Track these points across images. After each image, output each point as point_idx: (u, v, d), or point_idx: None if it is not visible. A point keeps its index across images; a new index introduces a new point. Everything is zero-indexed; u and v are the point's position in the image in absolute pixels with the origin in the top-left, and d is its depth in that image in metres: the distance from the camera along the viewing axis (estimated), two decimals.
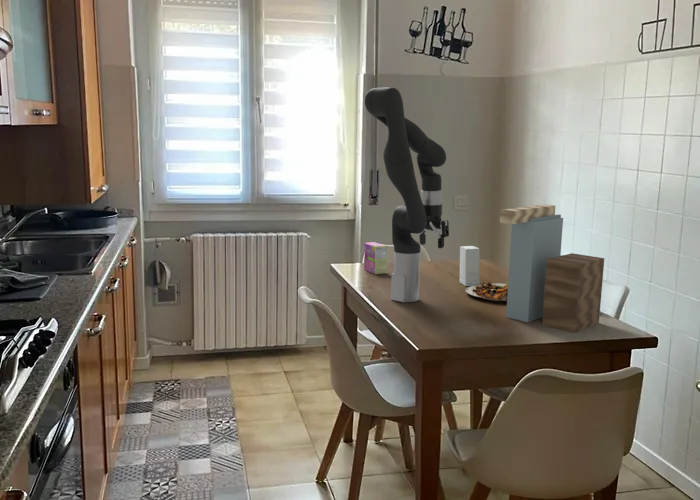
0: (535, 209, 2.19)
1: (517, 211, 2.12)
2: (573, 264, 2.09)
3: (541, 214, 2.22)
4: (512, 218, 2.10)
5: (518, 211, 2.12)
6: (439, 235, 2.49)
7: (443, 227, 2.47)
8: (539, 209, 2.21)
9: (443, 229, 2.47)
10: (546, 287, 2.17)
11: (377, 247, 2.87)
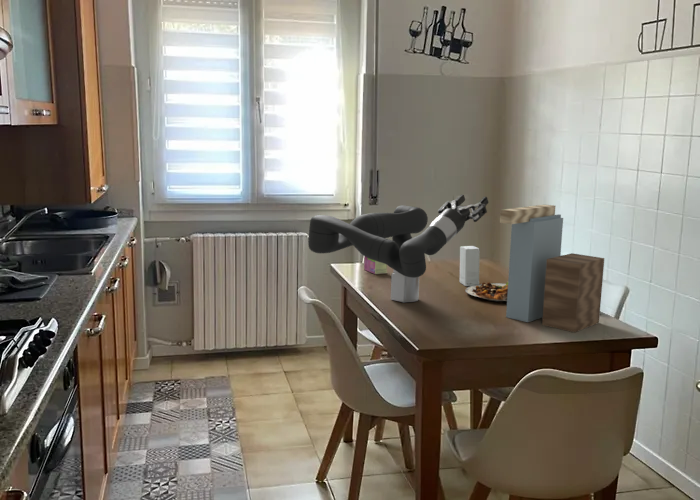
0: (535, 209, 2.19)
1: (517, 211, 2.12)
2: (573, 264, 2.09)
3: (541, 214, 2.22)
4: (512, 218, 2.10)
5: (518, 211, 2.12)
6: (452, 202, 2.13)
7: (441, 207, 2.12)
8: (539, 209, 2.21)
9: (443, 205, 2.13)
10: (546, 287, 2.17)
11: None
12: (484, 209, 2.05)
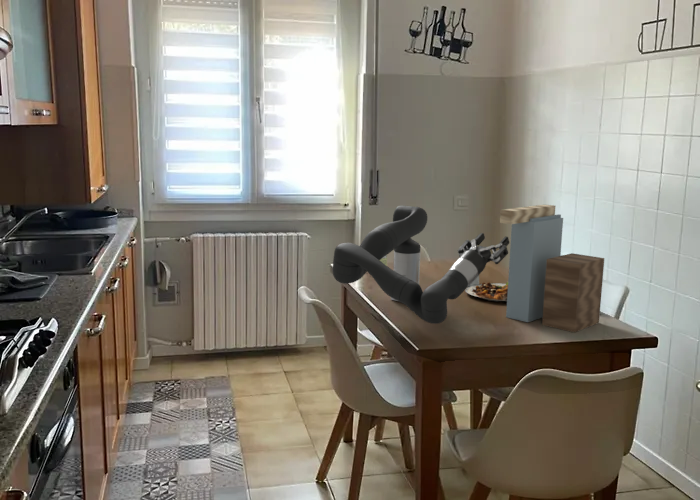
0: (535, 209, 2.19)
1: (517, 211, 2.12)
2: (573, 264, 2.09)
3: (541, 214, 2.22)
4: (512, 218, 2.10)
5: (518, 211, 2.12)
6: (472, 241, 2.09)
7: (461, 246, 2.09)
8: (539, 209, 2.21)
9: (463, 245, 2.09)
10: (546, 287, 2.17)
11: None
12: (505, 250, 2.01)
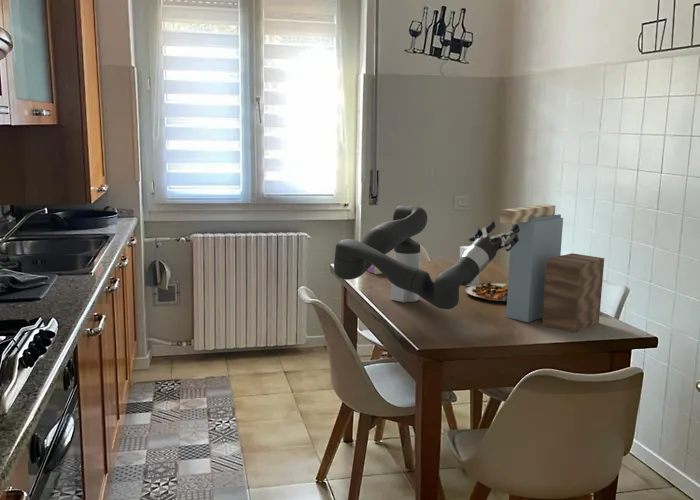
0: (535, 209, 2.19)
1: (517, 211, 2.12)
2: (573, 264, 2.09)
3: (541, 214, 2.22)
4: (512, 218, 2.10)
5: (518, 211, 2.12)
6: (483, 229, 2.12)
7: (472, 234, 2.12)
8: (539, 209, 2.21)
9: (474, 233, 2.12)
10: (546, 287, 2.17)
11: None
12: (516, 238, 2.04)
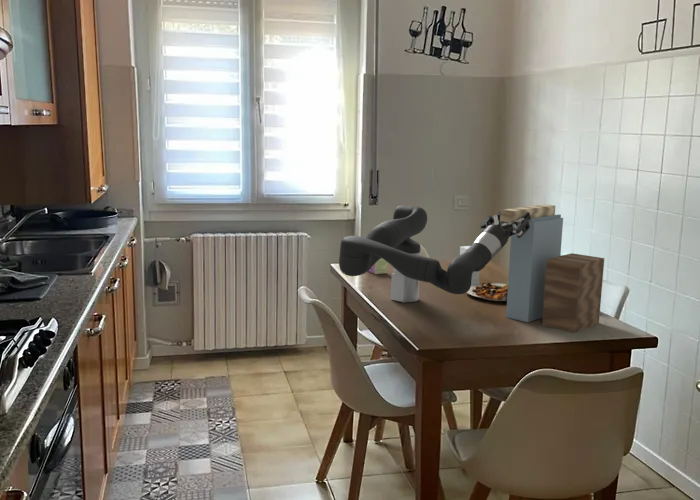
0: (535, 209, 2.19)
1: (517, 211, 2.12)
2: (573, 264, 2.09)
3: (541, 214, 2.22)
4: (512, 218, 2.10)
5: (518, 211, 2.12)
6: (494, 216, 2.16)
7: (484, 222, 2.15)
8: (539, 209, 2.21)
9: (485, 220, 2.16)
10: (546, 287, 2.17)
11: None
12: (527, 225, 2.08)
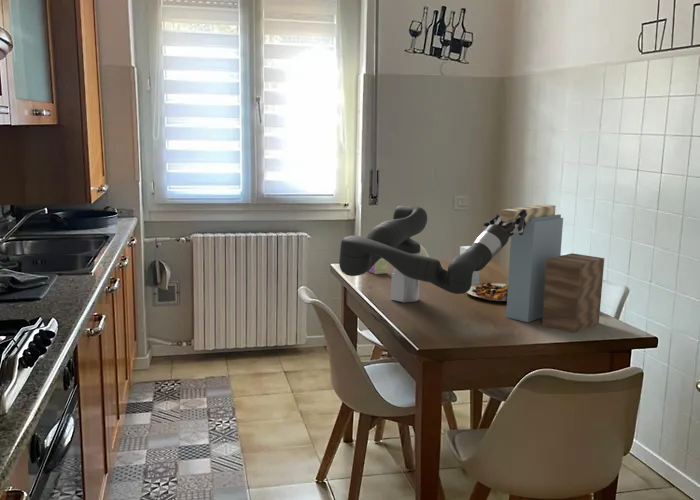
0: (535, 209, 2.19)
1: (517, 211, 2.12)
2: (573, 264, 2.09)
3: (541, 214, 2.22)
4: (512, 218, 2.10)
5: (518, 211, 2.12)
6: None
7: (488, 220, 2.15)
8: (539, 209, 2.21)
9: (491, 218, 2.15)
10: (546, 287, 2.17)
11: None
12: None
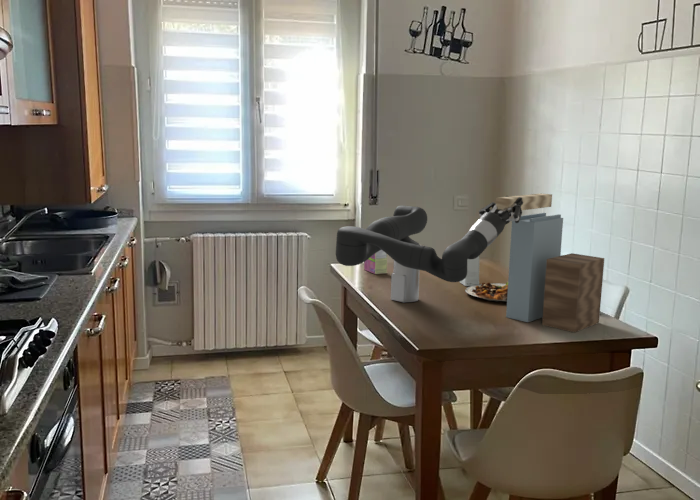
0: (531, 197, 2.17)
1: (513, 199, 2.09)
2: (573, 264, 2.09)
3: (538, 202, 2.20)
4: (508, 206, 2.08)
5: (514, 199, 2.10)
6: None
7: (484, 208, 2.13)
8: (535, 197, 2.18)
9: (486, 206, 2.13)
10: (546, 287, 2.17)
11: None
12: (519, 210, 2.07)
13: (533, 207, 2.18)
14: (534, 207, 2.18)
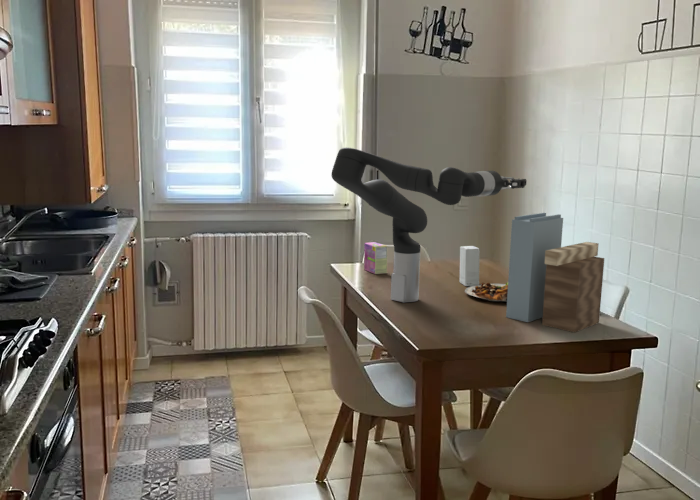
0: (579, 248, 2.14)
1: (562, 252, 2.06)
2: (573, 264, 2.09)
3: (585, 253, 2.17)
4: (557, 259, 2.05)
5: (563, 252, 2.07)
6: None
7: None
8: (583, 248, 2.15)
9: None
10: (546, 287, 2.17)
11: (377, 247, 2.87)
12: (523, 183, 2.12)
13: (581, 258, 2.15)
14: (582, 258, 2.16)
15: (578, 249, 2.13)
